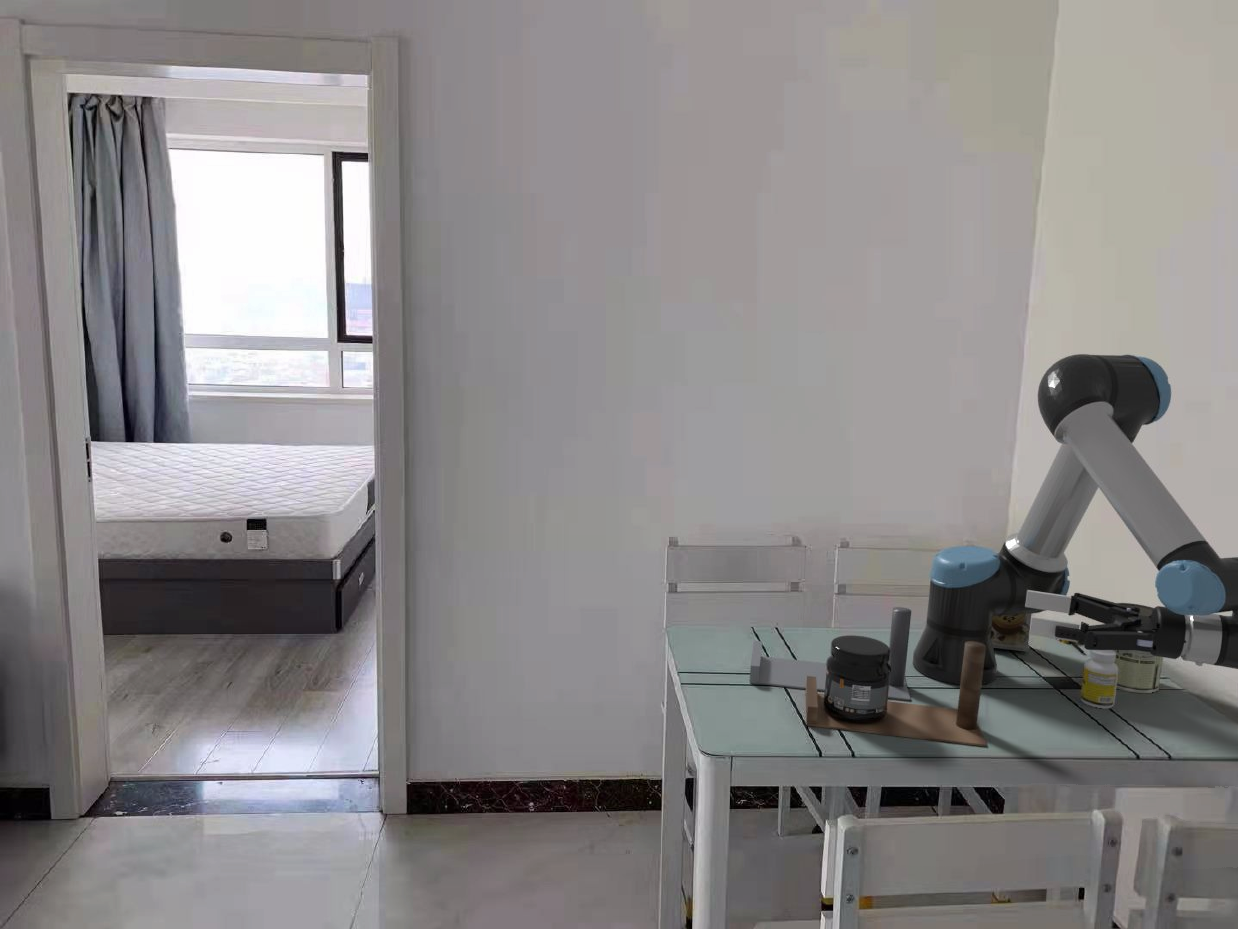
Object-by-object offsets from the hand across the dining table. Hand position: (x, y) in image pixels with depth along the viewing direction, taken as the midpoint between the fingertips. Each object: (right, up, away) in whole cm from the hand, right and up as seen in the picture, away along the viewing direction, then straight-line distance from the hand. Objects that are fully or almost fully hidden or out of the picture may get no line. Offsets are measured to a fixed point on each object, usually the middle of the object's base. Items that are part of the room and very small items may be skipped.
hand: (1028, 611), depth 148 cm
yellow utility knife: (+31, -15, +51) cm, 61 cm away
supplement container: (-25, -19, +10) cm, 33 cm away
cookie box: (+14, -14, +45) cm, 50 cm away
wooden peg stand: (-19, -19, +9) cm, 29 cm away
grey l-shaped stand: (-26, -16, +26) cm, 40 cm away
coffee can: (+32, -18, +29) cm, 47 cm away
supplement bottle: (+21, -20, +19) cm, 34 cm away
